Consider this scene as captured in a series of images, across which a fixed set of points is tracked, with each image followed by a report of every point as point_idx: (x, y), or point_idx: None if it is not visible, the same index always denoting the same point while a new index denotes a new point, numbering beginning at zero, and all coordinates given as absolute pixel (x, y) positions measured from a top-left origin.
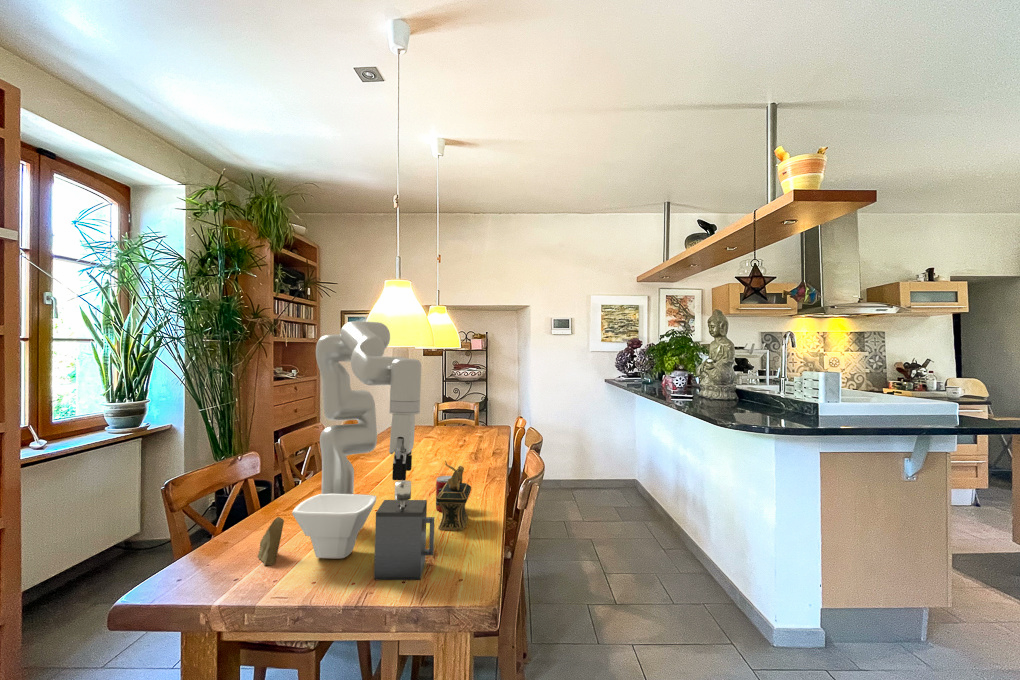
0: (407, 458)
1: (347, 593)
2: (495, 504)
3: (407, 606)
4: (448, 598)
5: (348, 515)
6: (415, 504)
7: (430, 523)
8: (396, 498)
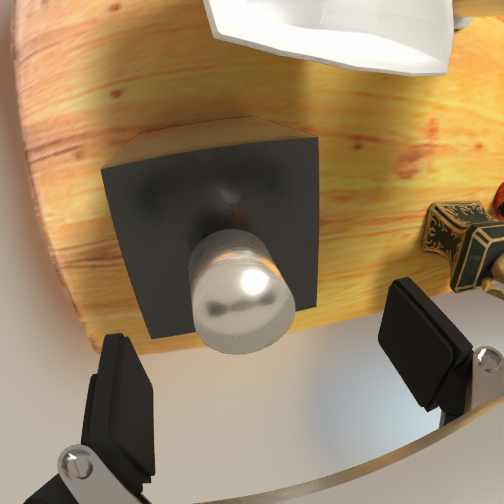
0: (422, 381)
1: (68, 106)
2: None
3: (49, 246)
4: (98, 303)
5: (205, 6)
6: None
7: None
8: (196, 251)
